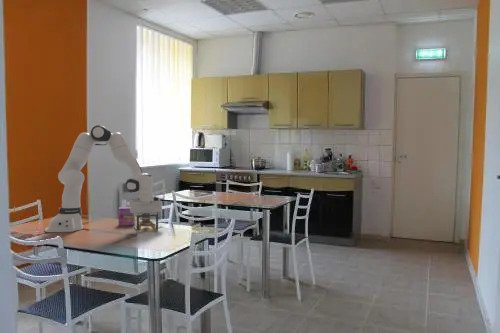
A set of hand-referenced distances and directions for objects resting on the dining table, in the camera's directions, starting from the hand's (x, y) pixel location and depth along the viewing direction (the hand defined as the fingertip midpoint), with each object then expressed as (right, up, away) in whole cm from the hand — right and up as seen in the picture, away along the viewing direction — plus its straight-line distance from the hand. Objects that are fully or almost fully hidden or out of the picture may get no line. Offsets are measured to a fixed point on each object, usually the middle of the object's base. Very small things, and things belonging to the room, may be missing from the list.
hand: (146, 219), depth 283 cm
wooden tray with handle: (0, -7, 0) cm, 6 cm away
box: (-17, -6, +15) cm, 23 cm away
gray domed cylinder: (0, -2, 0) cm, 2 cm away
